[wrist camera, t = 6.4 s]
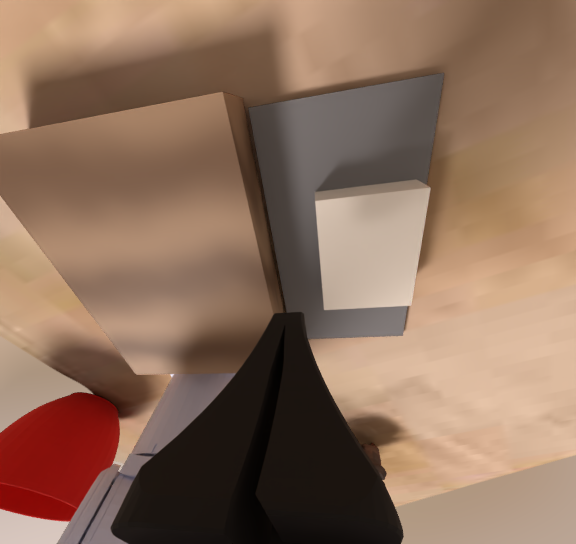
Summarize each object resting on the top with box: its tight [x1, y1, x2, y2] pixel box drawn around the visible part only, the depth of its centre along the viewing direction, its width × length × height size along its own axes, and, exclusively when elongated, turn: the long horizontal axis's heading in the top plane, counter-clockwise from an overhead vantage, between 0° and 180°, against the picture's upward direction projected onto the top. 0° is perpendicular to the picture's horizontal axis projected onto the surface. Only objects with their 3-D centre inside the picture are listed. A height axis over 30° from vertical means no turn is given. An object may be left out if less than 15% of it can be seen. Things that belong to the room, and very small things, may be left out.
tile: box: [315, 179, 431, 310], centre depth 16 cm, size 8×6×2 cm
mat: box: [248, 73, 444, 339], centre depth 17 cm, size 18×10×1 cm, turn 8°
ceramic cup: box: [0, 392, 120, 521], centre depth 30 cm, size 13×17×10 cm
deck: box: [0, 92, 284, 375], centre depth 18 cm, size 19×14×4 cm
